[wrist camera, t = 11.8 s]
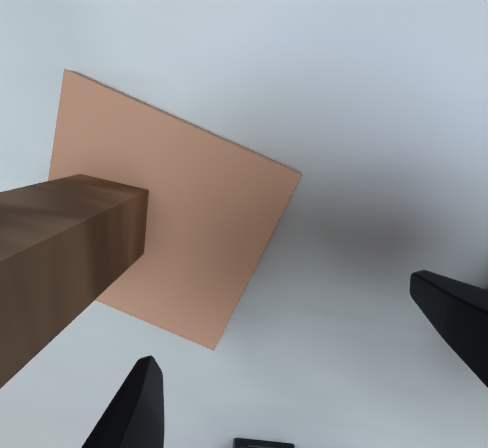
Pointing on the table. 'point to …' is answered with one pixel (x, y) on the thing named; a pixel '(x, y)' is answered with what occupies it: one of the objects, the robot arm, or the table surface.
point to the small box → (259, 444)
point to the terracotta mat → (174, 205)
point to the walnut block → (61, 256)
